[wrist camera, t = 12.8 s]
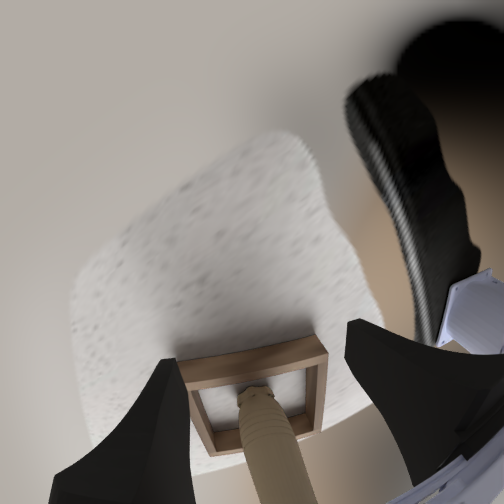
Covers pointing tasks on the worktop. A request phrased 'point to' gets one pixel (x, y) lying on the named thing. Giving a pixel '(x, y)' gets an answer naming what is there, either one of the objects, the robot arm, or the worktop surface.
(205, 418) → the collar
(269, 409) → the handle
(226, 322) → the worktop surface
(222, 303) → the worktop surface
